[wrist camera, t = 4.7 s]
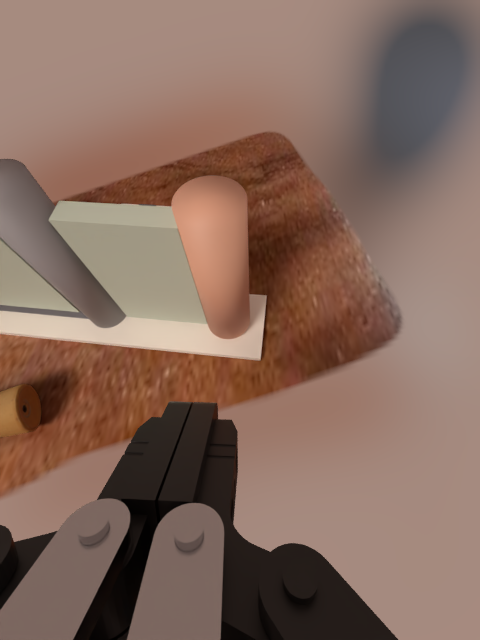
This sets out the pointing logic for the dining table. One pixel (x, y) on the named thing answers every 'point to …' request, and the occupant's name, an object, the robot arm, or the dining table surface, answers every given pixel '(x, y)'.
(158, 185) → the dining table surface
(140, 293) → the gate
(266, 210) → the dining table surface
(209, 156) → the dining table surface
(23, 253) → the fence fixed
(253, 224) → the dining table surface
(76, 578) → the robot arm
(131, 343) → the board
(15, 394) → the kendama
